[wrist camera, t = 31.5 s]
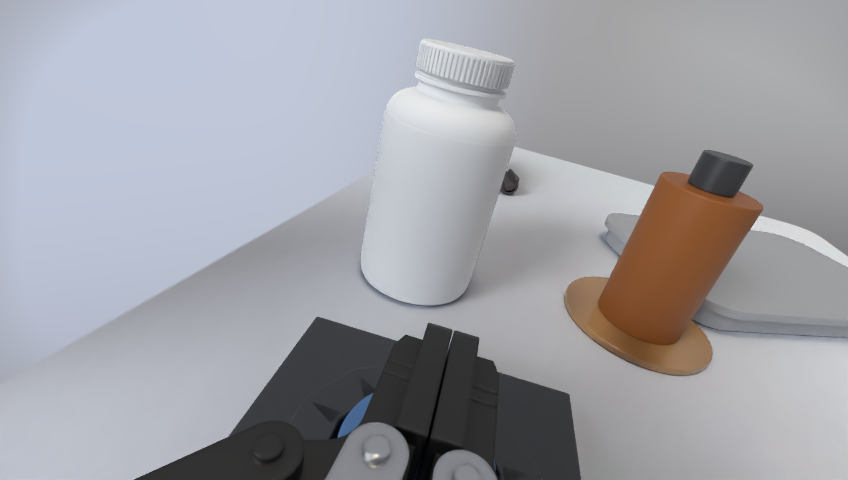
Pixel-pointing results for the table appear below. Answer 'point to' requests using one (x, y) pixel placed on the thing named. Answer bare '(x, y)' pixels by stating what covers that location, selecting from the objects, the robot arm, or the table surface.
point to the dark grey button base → (357, 378)
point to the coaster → (668, 359)
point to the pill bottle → (438, 174)
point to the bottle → (679, 248)
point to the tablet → (767, 286)
